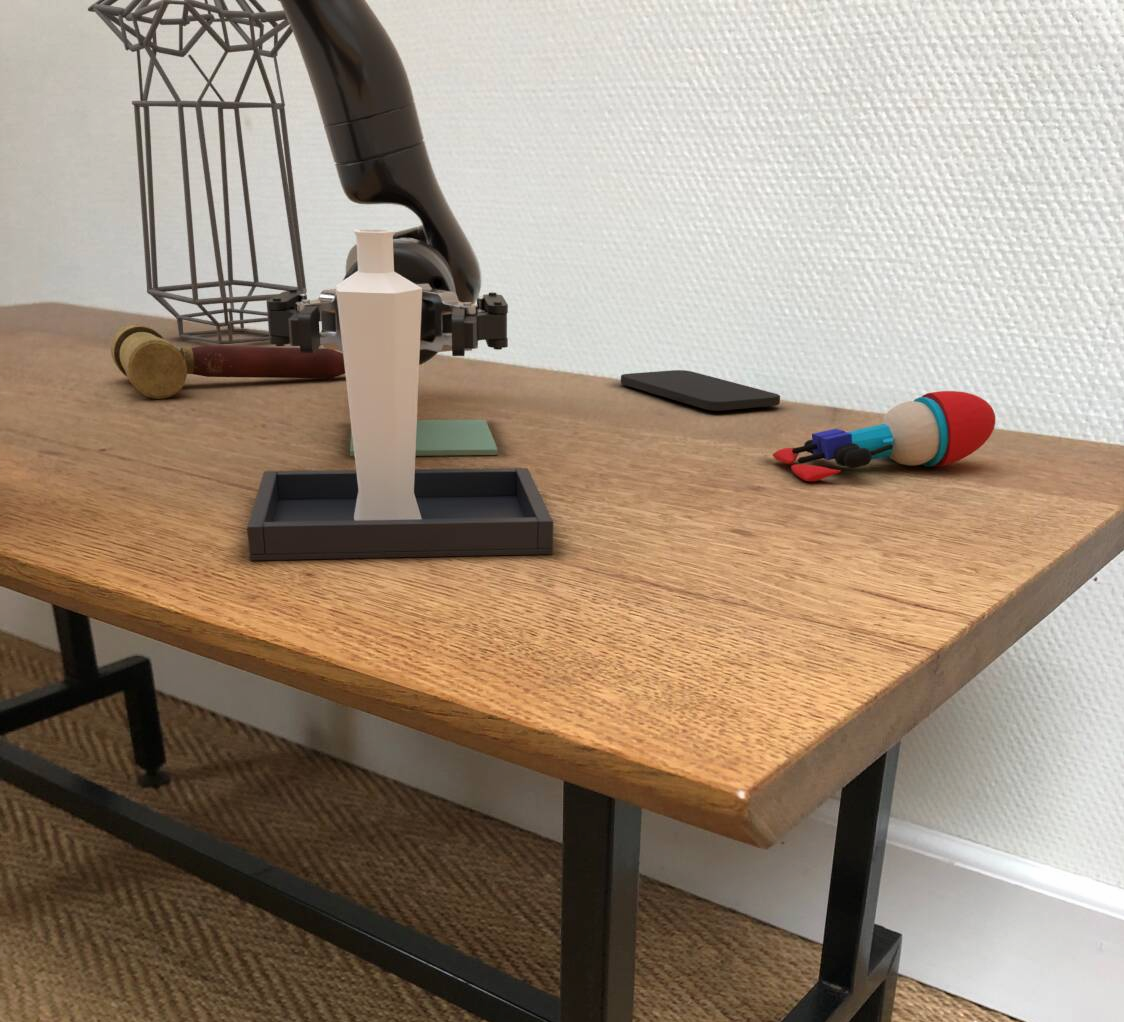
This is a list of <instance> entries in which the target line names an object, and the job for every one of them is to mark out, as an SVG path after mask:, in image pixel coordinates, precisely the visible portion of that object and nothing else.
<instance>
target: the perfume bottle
mask: <svg viewBox="0 0 1124 1022" xmlns="http://www.w3.org/2000/svg"><path fill="white" fill-rule="evenodd" d="M395 232H397V231H396V230H392V229H391V230H390V229H383V228H382V229H380V228H371V229H370V228H369V229H368V228H366V229H365V228H364V229H362V228H361V229H359V228H357V229H353V233H354V234H355V236H356V238H355V240H356V244H357V261H358V271H357V272H355V273H354V274H352V275H351V276H349V277H348V278H346V279H345V280H343V279H342V281H340V282H339V283H338V284H336V285H335V289H336V294H337V303H338V312H339V321H340V330H341V339H342V348H343V351H342V353H343V357H344V366H345V374H344V375H345V384H346V392H347V400H348V401H347V402H348V409H349V410H348V411H349V418H350V429H351V428H352V437H353V446H354V455H355V457H354V463H355V470H356V473H357V482H358V495H357V501H356V507H355V512H354V520H411V519H422V518H421V515H420V511H419V508H418V505H417V501H416V498H415V495H414V477H415V469H416V456H415V452H416V428H417V420H418V402H419V379H420V378H419V376H420V365H419V355H420V331H421V307H422V288H421V287H419V286H417V285H416V284H414V283H412V282H411V281H409V280H407V279H406V278H404V277H402V276H401V275H399V274H397V273H396V272H394V257H393V235H394V234H395Z"/></svg>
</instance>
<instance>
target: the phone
mask: <svg viewBox="0 0 1124 1022" xmlns="http://www.w3.org/2000/svg"><path fill="white" fill-rule="evenodd" d="M620 384H621V385H623V386H627V387H631V388H632V389H636V390H640V391H643V392H645V393H646V392H647V393H649V394H652V395H657V396H659V397H663V398H667V399H669V400H673V401H676V402H679V403H682V404H685V405H689V406H693V407H696V408H699V409H701V410H702V409H703V410H707V411H711V412H723V411H731V410H733V411H734V410H743V409H744V410H745V409H753V408H754V409H755V408H765V407H775V406H779V405H780V404H781V395H780V394H779V393H774V392H771V391H767V390H764V389H761V388H756V387H753V386H749V385H745V384H740V383H737V382H734V381H730V380H727V379H722V378H718V377H715V376H711V375H708V374H707V375H706V374H704V373H700V372H695V371H692V370H684V369H675V370H674V369H673V370H661V371H660V370H659V371H646V372H632V373H631V372H630V373H623V374H621V375H620Z"/></svg>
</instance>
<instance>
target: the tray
mask: <svg viewBox="0 0 1124 1022" xmlns="http://www.w3.org/2000/svg"><path fill="white" fill-rule="evenodd" d="M529 469H530V468H528V467H501V468H500V467H497V468H495V467H494V468H493V467H492V468H491V467H490V468H487V467H486V468H419V469H418V468H415V477H414V495H415V498H416V501H417V505H418V508H419V511H420V515H421V518H422V519H411V520H354V512H355V507H356V501H357V495H358V482H357V473H356V469H343V470H342V469H334V470H332V469H330V470H329V469H325V470H278V471H277V470H270V471H267V470H265V471H263V473H262V477H261V481H260V483H259V486H258V489H257V493H256V496H255V500H254V503H253V507H252V510H251V514H250V515H249V519H248V523H247V526H246V532H247V543H248V553H249V555H248V556H249V561H254V562H255V561H293V560H294V561H296V560H339V559H340V560H341V559H342V560H343V559H346V560H347V559H387V558H390V559H391V558H393V559H394V558H435V557H436V558H439V557H480V556H482V557H483V556H485V557H487V556H488V557H489V556H526V555H527V556H528V555H529V556H531V555H533V556H534V555H553V554H554V549H553V547H554V521H553V520H554V519H553V518H552V515H551V514H550V511H549V509H548V508H547V506H546V503H545V501H544V499H543V497H542V494H541V493H540V491H539V489H538V487H537V484H536V482H535V480H534V478H533V476H532V474H531V472H530V470H529Z"/></svg>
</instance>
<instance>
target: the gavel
mask: <svg viewBox="0 0 1124 1022" xmlns="http://www.w3.org/2000/svg"><path fill="white" fill-rule="evenodd" d="M110 353H111V354H110V355H111V358H112V361H113V363H114V364H115V366H116V367H117V369H118V370H119V371H120V372H121V373H122V375H124V376H125V377H126V378H127V379H128V381H129V382H130V383H131V384H132V386H133V387H134V388H135V389H136V390H137V391H138V392H139V393H140V394H141V395H144V396H145V397H148V398H150V399H151V398H152V399H157V400H160V399H161V400H163V399H167V398H171V397H172V396H174V395H176V394H177V393H178V392H180V390H182V388H183V387H184V385H185V383H186V380H187V377H188V375H195V376H199V377H206V378H258V379H259V378H261V379H262V378H263V379H334V378H337V377H340V376H343V375H345V366H344V357H343V352H341V351H339V350H333V349H326V348H325V347H323V348H322V347H321V348H320V347H319V348H318V349H317V350H316V352H315V353H314V354H301V352H300V347H285V346H244V345H243V346H239V345H236V346H235V345H200V346H194V347H178V346H175V345H173V344H172V343H171V342H170V341H168V340H166V339H165V338H164V336H162V334H160V333H158V331H156V330H155V329H154V328H153V327H151V326H149V325H146V324H143V323H131V324H130V323H129V324H128V325H127V324H126V325H125V326H123V327H121V328H119V330H118V331H116V333H115V335H114V336H113V338H112V340H111V345H110Z"/></svg>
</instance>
